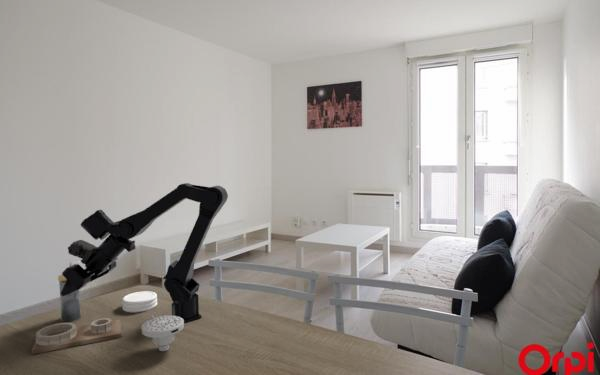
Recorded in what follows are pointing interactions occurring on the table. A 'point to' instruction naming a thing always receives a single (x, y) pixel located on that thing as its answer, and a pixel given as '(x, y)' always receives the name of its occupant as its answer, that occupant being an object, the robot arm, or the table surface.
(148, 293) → the white plate stack
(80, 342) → the fitting board
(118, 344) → the table surface
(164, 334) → the showerhead
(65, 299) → the grey lidded canister
